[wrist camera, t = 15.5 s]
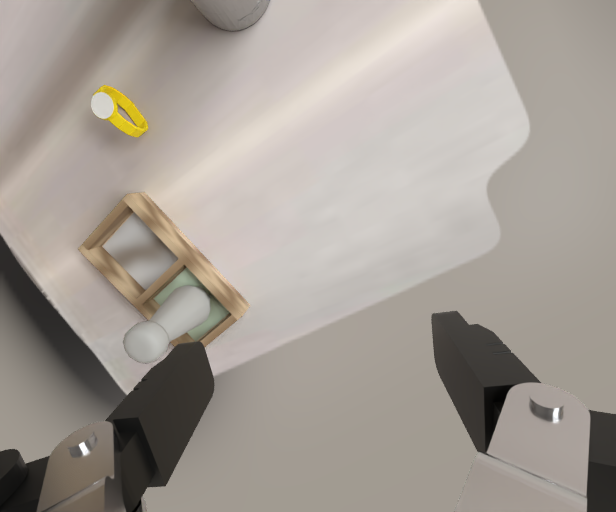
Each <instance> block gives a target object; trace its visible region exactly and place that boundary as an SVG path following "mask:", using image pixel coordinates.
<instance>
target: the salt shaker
mask: <svg viewBox="0 0 616 512" xmlns="http://www.w3.org/2000/svg"><path fill="white" fill-rule="evenodd" d="M210 297H211V296H210V295H209V294H208V293H207V292H206V291H205V290H204V289H203V288H202V287H195V286H190V285H186V286H182V287H178V288H176V289H175V290H174V291H173V292H172V293H171V294H170V295H169V296H168V298H167V299H166V300H165V301H164V303H163V304H162V305H161V306H160V308H159V309H158V310H157V311H156V313H155V314H154V315H153V316H152V317H151V319H150V320H149V321H145V322H140V323H137V324H136V325H134V326H133V327H132V328H131V329H130V330H129V331H128V332H127V333H126V334H125V337H124V340H123V344H124V348H125V351H126V352H127V354H128V355H129V357H130V358H132V359H134V360H135V361H137V362H140V363H145V364H147V363H152V362H154V361H156V360H157V359H159V358H160V357H161V356H162V355H163V354H164V353H165V352H166V351H167V349H168V345H169V342H170V341H172V340H174V339H176V338H178V337H179V336H181V335H183V334H185V333H187V332H188V331H190V330H192V329H194V328H195V327H197V326H199V325H201V324H202V323H203V322H204V321H205V320H207V318H208V316H209V313H210V310H211V306H210Z"/></svg>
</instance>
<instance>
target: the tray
mask: <svg viewBox="0 0 616 512" xmlns="http://www.w3.org/2000/svg"><path fill="white" fill-rule="evenodd" d="M78 250H79V251H80V252H81V253H82V254H83V255H84V256H85V257H86V258H87V259H88V260H89V261H90V262H91V263H92V264H93V265H94V266H95V267H96V268H97V269H98V270H99V271H100V272H101V273H102V274H103V275H104V276H105V277H106V278H107V279H108V280H109V281H110V282H111V283H112V284H113V285H114V286H115V287H116V288H117V289H118V290H119V291H120V292H121V293H122V294H123V295H124V296H125V297H126V298H127V299H128V300H129V301H130V302H131V303H132V304H133V305H134V306H135V307H136V308H137V309H138V310H139V311H140V312H141V313H142V314H143V315H144V316H145V317H146V318H147V319H148V320H150V319H151V317H152V316H153V315H154V314H155V313H156V311H157V310H158V309H159V308H160V306H161V305H162V304H163V303H164V301H165V300H166V299H167V298H168V296H169V295H170V294H171V293H172V292H173V291H174V290H175V289H176V288H178V287H182V286H186V285H190V286H195V287H202V288H203V289H204V290H205V291H206V292H207V293H208V294H209V295H210V296H211V297H210V306H211V310H210V313H209V316H208V318H207V320H205V321H204V322H203V323H202V324H201V325H199V326H197V327H195V328H194V329H192V330H190V331H188V332H187V333H185V334H183V335H181V336H179V337H178V338H176V339H174V340H172V341H170V343H171V344H172V345H173V346H174V347H175V346H176V345H177V344H180V343H187V342H196V341H200V342H202V344H203V345H204V347H206V346H207V345H208V344H209V343H210V342H212V341H213V340H214V339H215V338H216V337H218V336H219V335H220V334H221V333H222V332H224V331H225V330H226V329H227V328H228V327H230V326H231V325H232V324H233V323H234V322H236V321H237V320H238V319H239V318H241V317H242V316H243V314H244V313H245V312H246V310H247V309H248V308H249V306H250V304H249V303H248V302H247V301H246V300H245V299H244V298H243V297H242V296H241V295H240V294H239V293H238V292H237V290H236V289H235V288H234V287H233V286H232V285H231V284H230V283H229V282H228V281H227V280H226V279H225V278H224V277H223V276H222V274H221V273H220V272H219V271H218V270H217V269H216V268H215V267H214V266H213V265H212V264H211V263H210V262H209V261H208V260H207V258H206V257H205V256H204V255H203V254H202V253H201V252H200V251H199V250H198V249H197V248H196V247H195V246H194V245H193V244H192V242H191V241H190V240H189V239H188V238H187V237H186V236H185V235H184V234H183V233H182V232H181V231H180V230H179V229H178V228H177V226H176V225H175V224H174V223H173V222H172V221H171V220H170V219H169V218H168V217H167V216H166V215H165V214H164V213H163V212H162V210H161V209H160V208H159V207H158V206H157V205H156V204H155V203H154V202H153V201H152V200H151V199H150V198H149V197H148V196H147V194H146V193H145V192H143V193H132V194H127V195H126V196H125V197H124V198H123V199H122V200H121V201H120V202H119V204H118V205H117V206H116V207H115V208H114V209H113V210H112V211H111V213H110V214H109V215H108V216H107V217H106V218H105V219H104V220H103V222H102V223H101V224H100V225H99V226H98V227H97V228H96V229H95V230H94V232H93V233H92V234H91V235H90V236H89V237H88V238H87V239H86V241H85V242H84V243H83V244H82V245H81V246H80V247H79V248H78Z"/></svg>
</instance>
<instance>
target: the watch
mask: <svg viewBox="0 0 616 512" xmlns="http://www.w3.org/2000/svg"><path fill="white" fill-rule="evenodd" d="M117 104H118V105H119V106H121V107H122V108H123V109H124V110H125V111H126V112H127V113H128V115H129V116H130V117H131V119H132V120H133V121H134V123H135V124H136V125H137V127H136V126H134V125H133V124H131V123H130V122H128V121H127V120H126V119H124V118H123V117H122V116H121V115H120V114H119V113H118V106H117ZM91 108H92V111H93V113H94V114H95V115H96V116H97V117H98V118H100V119H103V120H109V121H110V122H111V123H112V124H113V125H114V126H115V127H117V128H118V129H119V130H121V131H123V132H124V133H126V134H128V135H130V136H134V137H139V136H141V135H142V134H143V133H144V132H145V131H146V130H148V125H147V122H146V120H145V119H144V118H143V116H142V115H141V114H140V112H139V111H138V109H137V108H136V107H135V105H134V103H133V102H131V101H130V100H129V99H128V98H127V97H126V96H125V95H123V94H122V93H121V92H119V91H118V90H116V89H115V88H113V87H110V86H106V85H103V86H102V87H100V88H99V89H98V90H97V91H96V92H95V93H94V94H93V97H92V100H91Z"/></svg>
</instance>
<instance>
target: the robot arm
mask: <svg viewBox="0 0 616 512" xmlns="http://www.w3.org/2000/svg"><path fill="white" fill-rule="evenodd" d="M190 1H191V2H192V3H193V4H194V5H195V6H196V7H197V9H198V10H199V11H200V12H201V13H202V14H203V15H204V16H205V17H206V19H207V20H208V21H210V22H211V23H212V24H213V25H215V26H217V27H219V28H221V29H224V30H229V31H238V30H242V29H245V28H247V27H249V26H251V25H252V24H254V23H255V22H256V21H257V20H258V19H259V18H260V17H261V16H262V14H263V13H264V12H265V10H266V8H267V6H268V4H269V1H270V0H190ZM432 334H433V347H434V358H435V363H436V367H437V370H438V373H439V375H440V378H441V379H442V381H443V384H444V386H445V387H446V390H447V392H448V394H449V395H450V397H451V399H452V402H453V404H454V406H455V407H456V410H457V411H458V414H459V415H460V417H461V420H462V421H463V424H464V425H465V428H466V429H467V432H468V433H469V435H470V437H471V439H472V441H473V443H474V445H475V447H476V449H477V451H478V453H477V455H476V456H475V459H474V461H473V464H472V466H471V469H470V472H469V474H468V477H467V479H466V482H465V485H464V487H463V490H462V493H461V495H460V498H459V500H458V503H457V506H456V508H455V511H454V512H616V414H610V413H603V412H597V411H591V410H588V409H587V407H586V406H585V405H584V404H583V403H582V401H580V400H579V399H578V398H577V397H575V396H574V395H572V394H571V393H568V392H567V391H565V390H562V389H560V388H558V387H555V386H551V385H547V384H543V383H541V382H540V381H539V380H538V379H537V378H536V377H535V376H534V375H533V374H532V373H531V372H530V371H529V370H528V368H527V367H526V366H525V365H524V364H523V363H522V362H521V361H520V360H519V359H518V358H517V357H516V356H515V355H514V354H513V353H511V350H510V349H509V348H508V347H507V346H506V345H505V344H503V342H502V341H501V340H500V339H499V338H498V337H497V336H496V335H495V334H494V332H492V331H490V330H488V329H486V328H484V327H482V326H480V325H478V324H474V325H469V324H468V323H467V322H466V321H465V320H464V319H463V317H462V316H461V315H460V314H459V313H458V312H457V311H450V312H442V313H434V314H432ZM213 392H214V378H213V374H212V371H211V368H210V364H209V361H208V358H207V354H206V351H205V348H204V345H203V344H202V342H200V341H196V342H187V343H180V344H177V345H176V346H175V348H174V349H173V350H172V351H171V352H170V353H169V355H168V356H167V357H166V358H165V359H164V360H163V361H161V362H160V363H158V364H157V365H156V366H154V367H153V368H151V369H150V371H149V372H148V373H147V374H146V375H145V376H144V377H143V378H142V381H141V382H139V383H138V384H137V385H136V386H135V387H134V390H133V391H131V392H130V393H129V394H128V395H127V397H126V398H125V399H124V400H123V401H122V402H121V403H120V404H119V406H118V407H117V408H116V409H115V410H114V411H113V413H112V414H111V415H110V416H109V417H108V418H107V419H106V420H105V421H100V422H95V423H92V424H89V425H86V426H84V427H82V428H80V429H78V430H77V431H75V432H73V433H72V434H70V435H69V436H68V437H66V438H65V439H64V440H63V441H62V442H60V443H59V444H58V445H57V447H56V448H55V449H54V450H53V451H52V453H51V455H50V456H48V457H45V458H42V459H39V460H36V461H33V462H30V463H26V464H25V462H24V460H23V458H22V457H21V455H20V453H19V451H18V450H15V449H9V450H4V451H1V452H0V512H147V509H146V503H145V500H144V498H143V494H144V492H145V490H146V489H147V487H160V486H166V484H167V482H168V481H169V479H170V477H171V475H172V473H173V471H174V469H175V467H176V465H177V463H178V461H179V459H180V457H181V455H182V453H183V452H184V450H185V448H186V446H187V444H188V442H189V440H190V438H191V436H192V434H193V432H194V430H195V428H196V427H197V425H198V423H199V421H200V419H201V417H202V415H203V413H204V411H205V409H206V407H207V405H208V403H209V401H210V399H211V398H212V395H213Z"/></svg>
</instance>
